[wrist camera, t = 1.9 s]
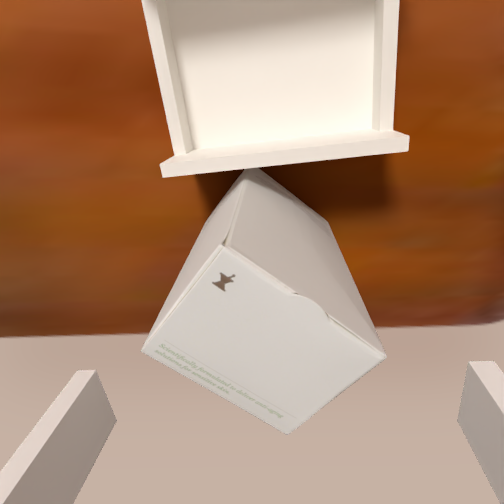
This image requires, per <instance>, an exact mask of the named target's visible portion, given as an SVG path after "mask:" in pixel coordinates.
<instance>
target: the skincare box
mask: <svg viewBox="0 0 504 504" xmlns="http://www.w3.org/2000/svg"><path fill="white" fill-rule="evenodd" d="M141 352H143V353H145V354H146V355H148V356H150V357H151V358H153V359H155V360H157V361H159V362H161V363H162V364H164V365H166V366H168V367H169V368H171V369H173V370H175V371H177V372H178V373H180V374H182V375H183V376H185V377H187V378H189V379H191V380H192V381H194V382H196V383H198V384H199V385H201V386H203V387H205V388H207V389H208V390H210V391H212V392H213V393H215V394H217V395H219V396H220V397H222V398H224V399H226V400H228V401H229V402H231V403H233V404H234V405H236V406H238V407H239V408H241V409H243V410H245V411H246V412H248V413H250V414H252V415H254V416H255V417H257V418H259V419H260V420H262V421H264V422H265V423H267V424H269V425H271V426H272V427H274V428H276V429H277V430H279V431H281V432H283V433H284V434H286V435H288V434H290V433H291V432H292V431H294V430H295V429H296V428H298V427H299V426H300V425H302V424H303V423H304V422H305V421H307V420H308V419H309V418H310V417H312V416H313V415H314V414H315V413H316V412H318V411H319V410H320V409H321V408H322V407H324V406H325V405H326V404H328V403H329V402H330V401H332V399H334V398H335V397H337V396H338V395H339V394H341V393H342V392H343V391H344V390H346V389H347V388H348V387H350V386H351V385H352V384H354V383H355V382H356V381H357V380H359V379H360V378H361V377H363V376H364V375H365V374H366V373H368V372H369V371H370V370H372V369H373V368H374V367H376V366H377V365H378V364H379V363H381V362H382V361H384V360H385V359H386V357H387V355H386V353H385V350H384V348H383V346H382V343H381V341H380V339H379V337H378V334H377V332H376V330H375V328H374V325H373V323H372V321H371V319H370V316H369V314H368V312H367V310H366V307H365V305H364V303H363V301H362V298H361V296H360V294H359V292H358V289H357V287H356V285H355V283H354V280H353V278H352V276H351V274H350V271H349V269H348V267H347V265H346V262H345V260H344V258H343V255H342V253H341V251H340V249H339V247H338V244H337V242H336V240H335V238H334V235H333V233H332V231H331V228H330V226H329V223H328V222H327V221H326V220H325V219H324V218H322V217H321V216H320V215H319V214H317V213H316V212H315V211H314V210H312V209H311V208H310V207H308V206H307V205H306V204H305V203H303V202H302V201H301V200H300V199H298V198H297V197H296V196H294V195H293V194H292V193H291V192H289V191H288V190H287V189H285V188H284V187H283V186H282V185H280V184H279V183H278V182H276V181H275V180H274V179H272V178H271V177H270V176H269V175H267V174H266V173H265V172H263V171H262V170H260V169H259V168H258V167H257V168H247V169H244V171H243V172H242V173H241V175H240V176H239V177H238V178H237V180H236V181H235V182H234V184H233V185H232V186H231V188H230V189H229V190H228V191H227V193H226V194H225V195H224V197H223V198H222V200H221V201H220V202H219V204H218V205H217V207H216V208H215V209H214V211H213V212H212V213H211V215H210V216H209V218H208V219H207V221H206V222H205V224H204V226H203V228H202V230H201V232H200V234H199V236H198V238H197V240H196V242H195V244H194V246H193V248H192V250H191V252H190V254H189V256H188V258H187V260H186V262H185V264H184V266H183V268H182V270H181V272H180V274H179V276H178V278H177V280H176V282H175V284H174V286H173V288H172V290H171V292H170V293H169V295H168V297H167V299H166V301H165V303H164V305H163V307H162V309H161V311H160V313H159V315H158V317H157V320H156V322H155V323H154V325H153V327H152V329H151V331H150V333H149V335H148V337H147V339H146V341H145V343H144V345H143V347H142V349H141Z"/></svg>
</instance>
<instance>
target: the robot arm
mask: <svg viewBox="0 0 504 504" xmlns="http://www.w3.org/2000/svg"><path fill="white" fill-rule="evenodd" d="M116 421H117V420H116V418H115V415H114V413H113V410H112V408H111V406H110V403H109V401H108V398H107V396H106V393H105V391H104V389H103V386H102V384H101V381H100V379H99V376H98V374H97V372H96V370H77V372H76V373H75V374H74V376H73V377H72V378H71V379H70V381H69V382H68V383H67V385H66V386H65V387H64V389H63V390H62V391H61V393H60V394H59V395H58V397H57V398H56V399H55V400H54V402H53V403H52V404H51V406H50V407H49V408H48V410H47V411H46V412H45V414H44V415H43V416H42V418H41V419H40V420H39V421H38V423H37V424H36V426H35V427H34V428H33V429H32V431H31V432H30V433H29V435H28V436H27V437H26V439H25V440H24V441H23V442H22V444H21V445H20V447H19V448H18V449H17V451H16V452H15V453H14V454H13V456H12V457H11V458H10V460H9V461H8V462H7V464H6V465H5V466H4V468H3V469H2V470H1V472H0V504H73V503H74V501H75V499H76V497H77V495H78V493H79V492H80V490H81V488H82V486H83V484H84V482H85V480H86V478H87V476H88V474H89V472H90V471H91V469H92V467H93V465H94V463H95V461H96V459H97V457H98V455H99V453H100V451H101V450H102V448H103V446H104V444H105V442H106V440H107V438H108V436H109V434H110V432H111V430H112V429H113V427H114V424H115V423H116ZM457 421H458V423H459V425H460V426H461V428H462V430H463V433H464V435H465V436H466V438H467V440H468V442H469V444H470V446H471V448H472V450H473V452H474V454H475V456H476V458H477V460H478V461H479V463H480V465H481V467H482V469H483V471H484V473H485V475H486V477H487V479H488V481H489V483H490V485H491V487H492V489H493V490H494V492H495V494H496V496H497V498H498V500H499V502H500V504H504V373H503V372H502V371H501V370H500V368H499V367H498V366H497V364H496V363H495V362H494V361H474V362H473V361H472V362H468V366H467V371H466V377H465V382H464V388H463V393H462V398H461V404H460V409H459V415H458V419H457Z"/></svg>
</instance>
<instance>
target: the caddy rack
mask: <svg viewBox="0 0 504 504" xmlns="http://www.w3.org/2000/svg"><path fill="white" fill-rule="evenodd" d="M142 5H143V10H144V14H145V19H146V24H147V28H148V33H149V38H150V43H151V47H152V52H153V57H154V61H155V66H156V71H157V75H158V80H159V85H160V90H161V94H162V99H163V104H164V108H165V113H166V118H167V122H168V127H169V132H170V136H171V141H172V146H173V151H174V155H175V156H173V157H171V158H169V159H168V160H166V161H164V162H162V163H161V164H160V168H161V172H162V176H163V178H164V177H173V176H182V175H192V174H201V173H210V172H219V171H229V170H238V169H247V168H257V167H266V166H275V165H285V164H294V163H303V162H312V161H322V160H331V159H340V158H350V157H359V156H368V155H378V154H387V153H396V152H405V151H408V148H409V136H408V135H405V134H402V133H400V132H397V131H394V130H393V118H394V98H395V78H396V58H397V38H398V18H399V0H142Z"/></svg>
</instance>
